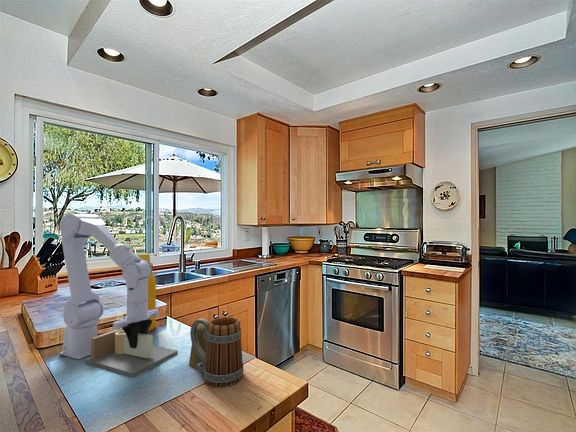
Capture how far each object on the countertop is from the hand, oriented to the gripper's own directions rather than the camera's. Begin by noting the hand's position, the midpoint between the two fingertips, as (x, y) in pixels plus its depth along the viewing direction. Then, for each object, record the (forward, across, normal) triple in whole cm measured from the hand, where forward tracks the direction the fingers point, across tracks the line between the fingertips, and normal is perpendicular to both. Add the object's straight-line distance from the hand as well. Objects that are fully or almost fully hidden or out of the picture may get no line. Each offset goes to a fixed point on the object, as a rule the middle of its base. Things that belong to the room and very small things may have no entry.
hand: (136, 346), depth 92 cm
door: (+3, 0, +1) cm, 3 cm away
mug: (+4, +2, -28) cm, 28 cm away
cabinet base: (+4, 0, +2) cm, 4 cm away
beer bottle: (+4, +19, +20) cm, 28 cm away
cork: (+4, +6, -19) cm, 20 cm away
